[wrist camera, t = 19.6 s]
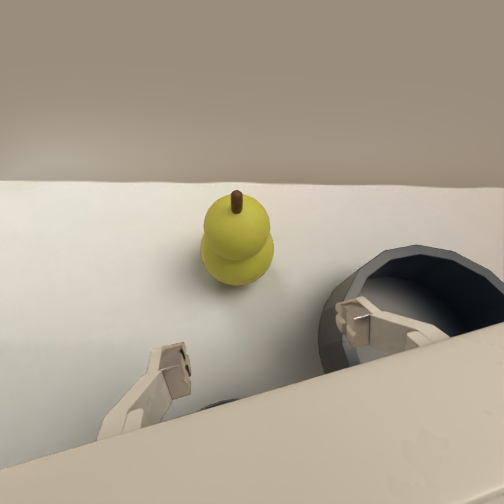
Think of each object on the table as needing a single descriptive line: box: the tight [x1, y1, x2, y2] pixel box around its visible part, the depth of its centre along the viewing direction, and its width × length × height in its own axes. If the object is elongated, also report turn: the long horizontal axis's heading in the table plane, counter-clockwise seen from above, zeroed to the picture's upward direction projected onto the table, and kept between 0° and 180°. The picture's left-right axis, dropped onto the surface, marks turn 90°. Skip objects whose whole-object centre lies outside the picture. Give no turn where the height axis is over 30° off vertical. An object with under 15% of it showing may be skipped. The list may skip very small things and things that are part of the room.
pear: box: [200, 190, 274, 285], centre depth 19 cm, size 6×6×10 cm
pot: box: [318, 245, 504, 374], centre depth 19 cm, size 14×14×6 cm
